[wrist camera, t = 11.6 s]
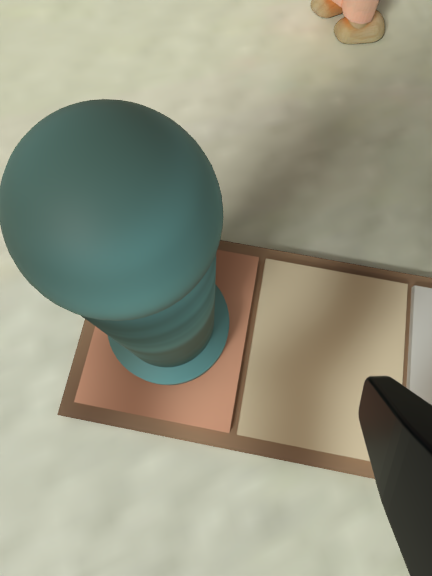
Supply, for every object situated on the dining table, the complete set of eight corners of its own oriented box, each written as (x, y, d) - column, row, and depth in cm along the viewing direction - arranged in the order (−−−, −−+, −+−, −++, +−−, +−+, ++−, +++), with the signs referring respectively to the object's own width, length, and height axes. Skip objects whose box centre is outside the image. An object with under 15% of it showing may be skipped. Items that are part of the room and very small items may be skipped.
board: (563, 304, 18) (574, 301, 17) (576, 518, 16) (590, 522, 15) (114, 223, 19) (111, 217, 18) (60, 414, 16) (54, 414, 16)
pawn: (251, 314, 17) (330, 123, 6) (180, 410, 16) (103, 409, 5) (162, 250, 18) (76, -31, 6) (88, 337, 17) (-173, 180, 5)
